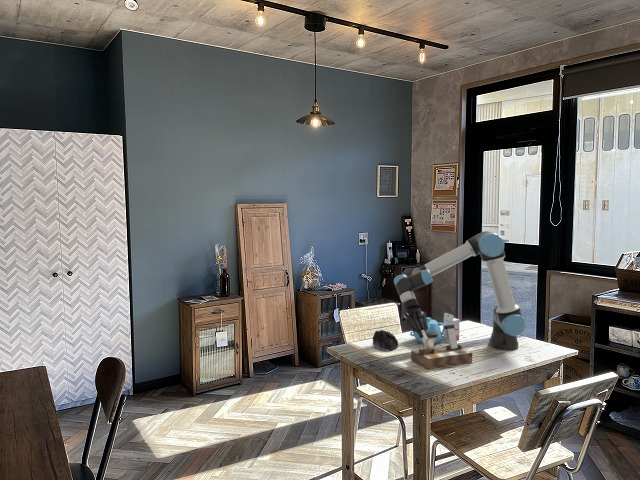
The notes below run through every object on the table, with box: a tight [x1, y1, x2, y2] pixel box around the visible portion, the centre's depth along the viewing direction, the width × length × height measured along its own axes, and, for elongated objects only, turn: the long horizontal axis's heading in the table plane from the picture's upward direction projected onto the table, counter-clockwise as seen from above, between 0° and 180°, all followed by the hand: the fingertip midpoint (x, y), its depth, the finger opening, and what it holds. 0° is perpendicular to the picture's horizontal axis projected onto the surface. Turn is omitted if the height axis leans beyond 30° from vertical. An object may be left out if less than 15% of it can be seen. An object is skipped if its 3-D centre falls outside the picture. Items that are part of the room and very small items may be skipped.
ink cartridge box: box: [442, 312, 461, 341], centre depth 277 cm, size 9×5×15 cm, turn 25°
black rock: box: [372, 329, 399, 352], centre depth 261 cm, size 13×14×10 cm
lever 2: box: [444, 325, 458, 349], centre depth 244 cm, size 5×2×12 cm, turn 112°
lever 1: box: [422, 332, 438, 354], centre depth 234 cm, size 5×2×12 cm, turn 112°
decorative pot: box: [409, 316, 446, 345], centre depth 272 cm, size 16×16×14 cm
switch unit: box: [410, 343, 473, 371], centre depth 238 cm, size 26×14×7 cm, turn 112°
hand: (426, 343), depth 235 cm, fingers closed
